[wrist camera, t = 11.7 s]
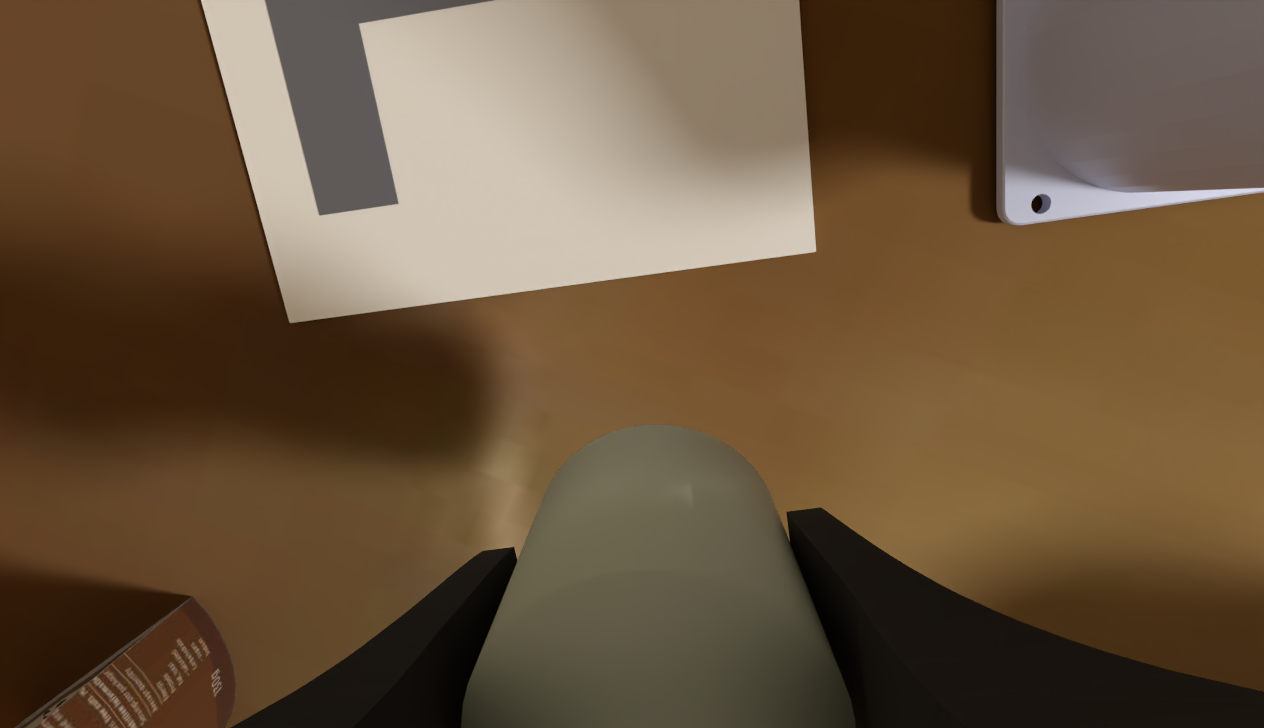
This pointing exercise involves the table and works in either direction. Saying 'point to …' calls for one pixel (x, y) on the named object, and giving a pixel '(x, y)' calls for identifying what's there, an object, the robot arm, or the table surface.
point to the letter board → (513, 142)
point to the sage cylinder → (657, 601)
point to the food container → (153, 681)
